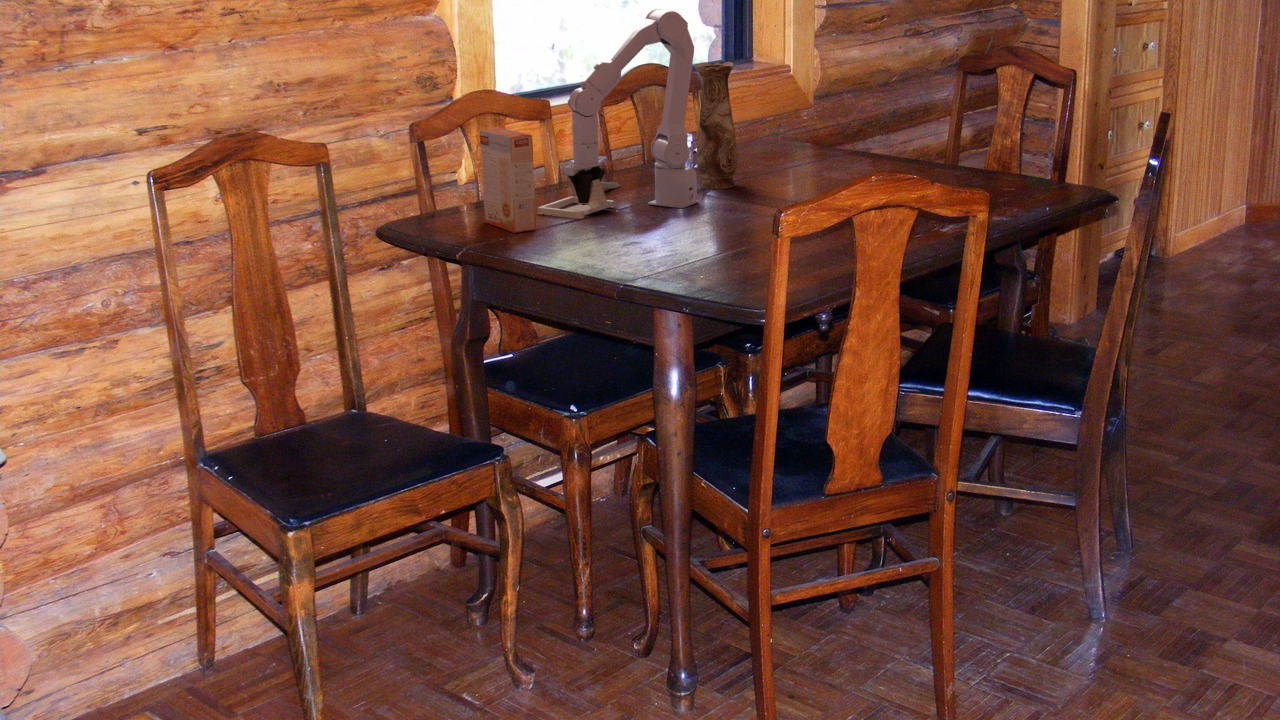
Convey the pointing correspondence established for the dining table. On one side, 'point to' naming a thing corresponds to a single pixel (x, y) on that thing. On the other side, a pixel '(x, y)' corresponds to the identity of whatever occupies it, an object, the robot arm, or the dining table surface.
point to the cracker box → (508, 179)
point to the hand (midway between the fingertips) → (587, 201)
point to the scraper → (597, 198)
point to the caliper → (603, 184)
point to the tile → (579, 208)
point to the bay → (554, 211)
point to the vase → (716, 128)
